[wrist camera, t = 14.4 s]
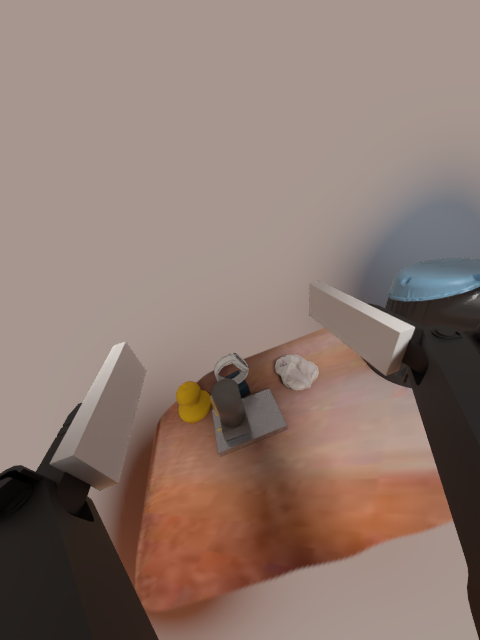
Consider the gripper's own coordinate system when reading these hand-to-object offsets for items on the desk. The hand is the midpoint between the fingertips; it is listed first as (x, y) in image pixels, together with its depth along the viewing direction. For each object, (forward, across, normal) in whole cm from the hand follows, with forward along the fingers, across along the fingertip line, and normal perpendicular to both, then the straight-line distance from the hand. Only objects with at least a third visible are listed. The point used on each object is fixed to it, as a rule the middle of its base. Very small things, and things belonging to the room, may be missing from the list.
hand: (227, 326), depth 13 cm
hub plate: (+11, -1, -32) cm, 34 cm away
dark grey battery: (+11, -4, -30) cm, 32 cm away
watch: (+20, -1, -32) cm, 38 cm away
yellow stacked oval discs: (+19, -12, -32) cm, 39 cm away
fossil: (+17, +14, -32) cm, 39 cm away
